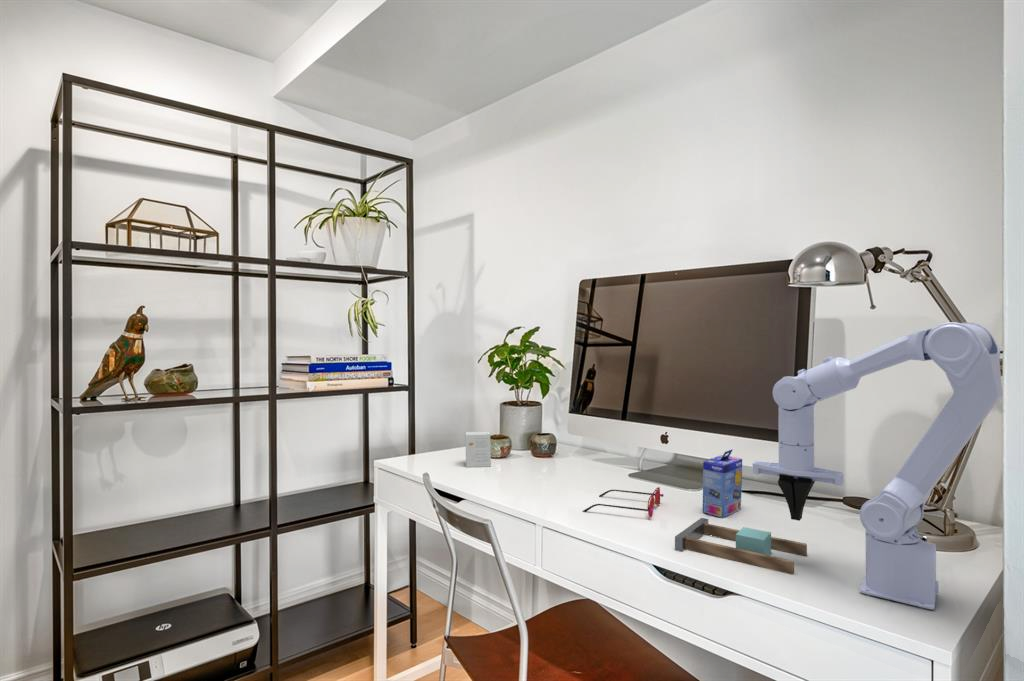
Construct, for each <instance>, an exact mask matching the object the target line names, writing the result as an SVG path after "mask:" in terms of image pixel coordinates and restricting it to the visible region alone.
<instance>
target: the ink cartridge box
mask: <svg viewBox="0 0 1024 681" xmlns="http://www.w3.org/2000/svg"><path fill="white" fill-rule="evenodd" d="M732 452H733V449H729V450H727V451H725V452H724V453H722V454H723V455H718V456H715V457H713V458H712V457H711V458H709V459H706V460H704V461H703V463H702V467H703V469H702V470H703V472H702V513H703V514H706V513H707V515H711V516H714V517H717V516H718V517H717V518H721V517H722V518H721V519H724V518H726V517H728V516H730V515H732V514H734V513H736V512H738V511H741V509H742V492H743V491H742V488H743V487H742V486H743V485H742V484H743V458H739V457H737V456H731V454H732Z"/></svg>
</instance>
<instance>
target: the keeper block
mask: <svg viewBox="0 0 1024 681" xmlns="http://www.w3.org/2000/svg"><path fill="white" fill-rule="evenodd" d="M739 530H740V531H739V532H738V533H737V534H736V541H735V548H738V549H743V550H747V551H752V552H756V553H761V554H765V555H770V556H771V553H772V549H771V537H772V532H770V531H765V530H761V529H755V528H750V527H745V526H743V527H742V528H741V529H739Z"/></svg>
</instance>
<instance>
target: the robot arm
mask: <svg viewBox="0 0 1024 681" xmlns="http://www.w3.org/2000/svg"><path fill="white" fill-rule="evenodd" d="M1000 355H1001V348H1000V347H999V345H998V343H997V341H996V340H995V338H994V336H993V335H992V333H991V331H989V329H987V327H985V326H983V325H981V324H979V323H975V322H953V321H952V322H950V321H949V322H943V323H941V324H938V325H937V326H935V327H933V328H925V329H921V330H919V331H915V332H912V333H909V334H906V335H904V336H901V337H899V338H896V339H895V340H893V341H891V342H888V343H886V344H883V345H882V346H879V347H876V348H875V349H873V350H870V351H868V352H866V353H864V354H861V355H859V356H857V357H855V358H853V359H851V360H849V359H847V358H845V357H841V356H837V357H835V358H834V356H828V357H825V358H823V359H822V362H823V363H821V364H818V365H816V366H814V367H811V368H809V369H807V370H806V369H805V368H802V369H799V370H798V371H797V376H789V375H788V376H783V377H782V378H781V379H779V380H778V381H777V382H776V383H775V384H774V385H773V388H772V398H773V401H774V402H775V403H776V404H777V406H778V426H777V427H778V462H769V461H766V462H765V461H756V460H755V461H754V462H752V474H755V475H759V474H762V475H770V476H775V477H778V480H777V484H778V487H779V488H780V490H781V492H782V494H783V496H784V499H785V500H786V504H787V506H788V509H789V510H788V511H789V514H790V519H791V520H793V521H794V520H795V521H801V520H802V519H803V514H804V509H805V508H804V507H805V504H806V501H807V499H808V498H809V497H808V496H809V494H810V492H811V490H812V488H813V486H814V484H815V482H818V483H819V482H820V483H824V484H825V483H827V484H834V485H835V486H839V487H840V486H843V485H844V472H843V471H835V470H830V469H825V468H821V467H815V417H814V415H815V414H814V412H815V410H814V408H815V405H816V404H817V403H818V402H821V401H824V400H828V399H830V398H832V397H835V396H838V395H840V394H843V393H846V392H849V391H852V390H854V389H856V388H857V387H858V385H859V384H860V383H859V382H860V380H861V378H862V377H865V376H867V375H871V374H875V373H876V372H879V371H882V370H885V369H887V368H890V367H893V366H896V365H899V364H902V363H905V362H908V361H911V360H912V361H922V362H926V361H933V362H934V363H935V364H936V365H937V366H938V367H939V368H940V369H941V370H942V371H943V372H944V373H945V375H946V378H947V379H948V382H949V384H950V386H951V388H952V390H953V393H952V395H951V396H950V398H949V399H948V401H947V402H946V404H945V405H944V406H943V408H942V410H941V411H940V412H939V414H938V415H937V416H936V418H935V419H934V421H933V422H932V424H931V425H930V427H929V428H928V429H927V430H926V432H925V433H924V434H923V436H922V437H921V439H920V441H919V442H918V443H917V445H916V446H915V447H914V449H913V450H912V452H911V453H910V455H909V456H908V458H907V459H906V460H905V462H904V463H903V465H902V466H901V467H900V469H899V470H898V471H897V473H896V475H895V476H894V477H893V478H892V479H891V480H890V481H889V482H888V483H887V484H886V485H885V487H883V489H882V490H881V491H880V493H879V494H878V495H877V496H876V497H873V498H871V499H868V500H867V501H865V502H864V503H863V504H862V506H861V507H860V510H859V520H860V523H861V525H862V527H863V528H864V531H865V532H864V533H865V534H864V535H865V536H864V537H865V575H864V578H863V581H862V583H861V586H860V589H859V592H860V593H861V594H865V595H868V596H872V597H873V596H874V597H878V598H882V599H885V600H889V601H895V602H896V603H897V602H898V603H903V604H906V605H910V606H915V607H919V608H923V609H927V610H931V611H933V610H935V606H936V599H937V594H939V581H938V580H937V547H936V546H937V545H936V543H933V542H930V541H929V542H928V541H925V540H922V539H921V535H920V534H919V531H918V530H917V527H916V526H918V525H919V524H920V523H921V522H922V520H923V518H924V514H925V513H924V510H925V509H924V508H925V504H926V502H928V500H929V499H930V497H931V493H932V491H933V489H934V488H935V486H936V485H937V484H938V483H939V481H940V480H941V479H942V477H943V476H944V475H945V473H946V472H947V471H948V469H949V468H950V466H951V465H952V463H953V462H954V461H955V460H956V458H957V457H958V456H959V454H960V453H961V452H962V450H963V449H964V447H965V446H967V444H968V442H969V441H970V440H971V438H972V437H973V435H974V434H975V433H976V432H977V430H978V429H979V427H980V426H981V425H982V424H983V422H984V421H985V420H986V418H987V417H988V415H989V414H990V413H991V411H993V409H994V407H995V406H996V405H997V403H998V402H999V401H1000V399H1001V398H1002V395H1003V384H1002V375H1001V373H1002V372H1001V362H1000V361H1001V360H1000V359H1001V356H1000Z"/></svg>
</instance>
